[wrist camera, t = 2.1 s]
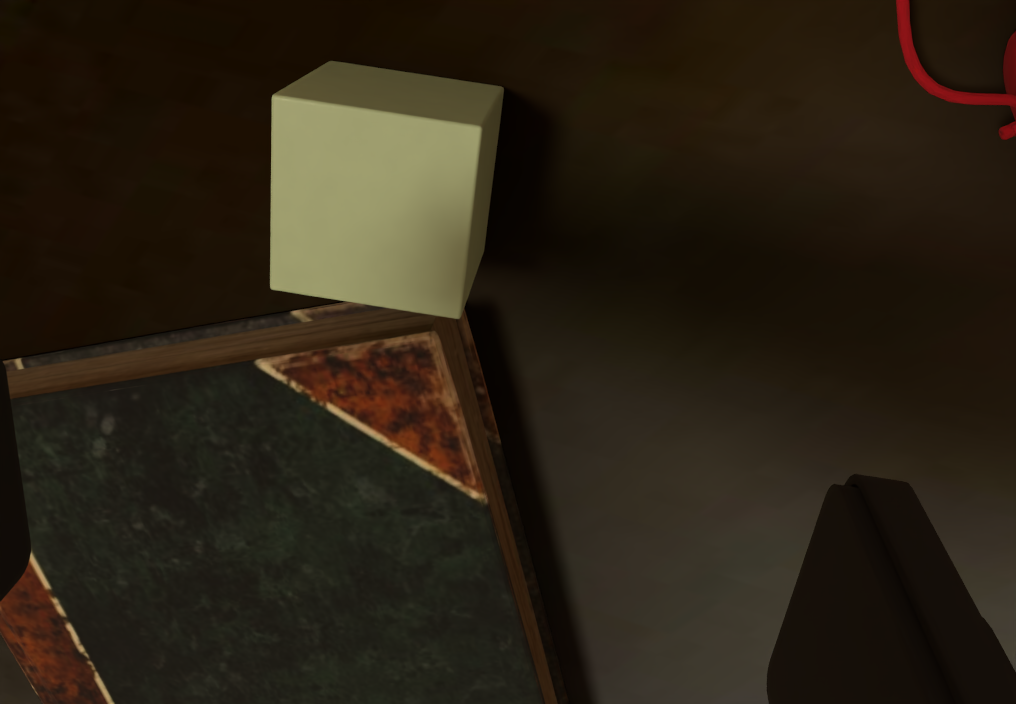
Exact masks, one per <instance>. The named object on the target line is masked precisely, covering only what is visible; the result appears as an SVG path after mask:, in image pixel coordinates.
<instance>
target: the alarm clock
mask: <svg viewBox="0 0 1016 704" xmlns="http://www.w3.org/2000/svg"><path fill="white" fill-rule="evenodd" d="M896 5H897V18H898V31H899V39H900V43H901V47H902V51H903V55H904V59H905V62H906V64H907V66H908V68H909V70H910V71H911V73H912V75H913V77H914V79H915V80H916V81H917V82H918V83H919V84H920V85H921V86H922V87H923V88H924V89H925V90H926V91H927V92H928V93H930V94H932V95H934V96H937V97H939V98H942V99H944V100H946V101H949V102H954V103H962V104H970V105H1009V106H1010V108H1011V110H1012V113H1013V115H1014V118H1015V122H1012V123H1010V124H1009V125H1007V126H1004V127H1001V128H1000V129H999V136H1000V137H1001V139H1003V140H1007V139H1009V138H1011V137H1013V136H1016V31H1015V32H1014V33H1013V35H1012V36H1011V37H1010V39H1009V40H1008V43H1007V47H1006V50H1005V54H1004V61H1003V76H1004V84H1005V89H1006V93H1007V94H987V93H968V92H961V91H954V90H951V89H949V88H946V87H944V86H941V85H939V84H938V83H936V82H935V81H934V80H933V79H932V78H931V77H930V76H928V74H927V73H926V72H925V70H924V69H923V67H922V66H921V64H920V61H919V59H918V56H917V54H916V51H915V48H914V46H913V40H912V33H911V26H910V10H909V0H896Z"/></svg>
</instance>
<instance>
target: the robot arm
mask: <svg viewBox="0 0 1016 704" xmlns="http://www.w3.org/2000/svg"><path fill="white" fill-rule="evenodd" d="M30 555H31V540H30V533H29V526H28V519H27V512H26V505H25V498H24V491H23V484H22V477H21V470H20V463H19V456H18V449H17V442H16V435H15V428H14V421H13V414H12V407H11V400H10V393H9V386H8V379H7V372H6V368H5V364H4V363H3V361H2V360H1V359H0V602H1V601H2V599H3V598H4V597H5V596H6V595H7V594H8V592H9V591H10V590H11V589H12V588H13V587H14V585H15V584H16V583H17V582H18V581H19V580H20V578H21V577H22V576H23V574H24V572H25V570H26V568H27V566H28V563H29V560H30ZM767 695H768V701H769V704H1016V672H1015V670H1014V668H1013V667H1012V665H1011V663H1010V661H1009V659H1008V657H1007V656H1006V654H1005V652H1004V650H1003V648H1002V646H1001V645H1000V643H999V641H998V639H997V637H996V635H995V634H994V632H993V630H992V628H991V627H990V626H989V624H988V623H987V622H986V620H985V619H984V618H983V617H982V616H981V615H980V613H979V611H978V609H977V607H976V605H975V603H974V602H973V600H972V598H971V596H970V594H969V592H968V590H967V589H966V587H965V585H964V583H963V581H962V579H961V577H960V576H959V574H958V572H957V570H956V568H955V566H954V564H953V563H952V561H951V559H950V557H949V555H948V553H947V551H946V550H945V548H944V546H943V544H942V542H941V540H940V538H939V537H938V535H937V533H936V531H935V529H934V527H933V525H932V524H931V522H930V520H929V518H928V516H927V514H926V512H925V511H924V509H923V507H922V505H921V503H920V501H919V499H918V498H917V496H916V494H915V492H914V490H913V488H912V487H911V486H910V485H909V483H907V482H904V481H897V480H891V479H884V478H878V477H871V476H864V475H858V474H854V475H852V476H850V477H849V479H848V480H847V481H846V483H845V485H837V484H834V485H832V486H831V487H830V488H829V489H828V491H827V494H826V496H825V499H824V502H823V505H822V508H821V511H820V514H819V517H818V520H817V523H816V526H815V529H814V532H813V535H812V538H811V541H810V543H809V546H808V549H807V552H806V555H805V558H804V561H803V564H802V567H801V570H800V573H799V576H798V579H797V582H796V585H795V588H794V591H793V594H792V597H791V600H790V603H789V606H788V609H787V612H786V615H785V618H784V621H783V624H782V627H781V630H780V633H779V636H778V639H777V641H776V644H775V647H774V650H773V653H772V656H771V659H770V663H769V667H768V673H767Z"/></svg>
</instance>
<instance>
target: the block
mask: <svg viewBox="0 0 1016 704" xmlns="http://www.w3.org/2000/svg"><path fill="white" fill-rule="evenodd" d="M503 94H504V88H503V87H501V86H495V85H488V84H481V83H475V82H468V81H462V80H455V79H448V78H442V77H435V76H429V75H422V74H415V73H409V72H402V71H396V70H389V69H382V68H376V67H369V66H363V65H356V64H349V63H343V62H336V61H329V62H328V63H326V64H324V65H322V66H321V67H319V68H317V69H316V70H314V71H312V72H311V73H309V74H307V75H306V76H304V77H302V78H300V79H299V80H297V81H295V82H294V83H292V84H290V85H289V86H287V87H285V88H284V89H282V90H280V91H279V92H277V93H275V94H273V96H272V133H271V243H270V288H271V289H272V290H278V291H284V292H291V293H297V294H303V295H309V296H316V297H322V298H328V299H334V300H341V301H347V302H353V303H360V304H366V305H372V306H378V307H385V308H391V309H397V310H403V311H410V312H416V313H422V314H429V315H435V316H441V317H447V318H454V319H460V317H461V315H462V313H463V310H464V307H465V304H466V301H467V298H468V295H469V293H470V290H471V287H472V284H473V281H474V278H475V276H476V273H477V270H478V267H479V264H480V261H481V258H482V256H483V253H484V248H485V239H486V231H487V223H488V215H489V207H490V199H491V191H492V183H493V175H494V167H495V159H496V151H497V143H498V135H499V127H500V119H501V110H502V102H503Z"/></svg>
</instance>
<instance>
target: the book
mask: <svg viewBox="0 0 1016 704" xmlns="http://www.w3.org/2000/svg"><path fill="white" fill-rule="evenodd" d="M3 363H4V364H5V368H6V372H7V379H8V386H9V393H10V400H11V407H12V414H13V421H14V428H15V435H16V442H17V449H18V456H19V463H20V470H21V477H22V484H23V491H24V498H25V505H26V512H27V519H28V526H29V533H30V540H31V555H30V560H29V563H28V566H27V568H26V570H25V572H24V574H23V576H22V577H21V578H20V580H19V581H18V582H17V583H16V584H15V585H14V587H13V588H12V589H11V590H10V591H9V592H8V594H7V595H6V596H5V597H4V598H3V599H2V601H1V602H0V634H1V636H2V637H3V639H4V641H5V642H6V644H7V646H8V647H9V649H10V651H11V652H12V654H13V656H14V657H15V659H16V661H17V662H18V664H19V666H20V667H21V669H22V671H23V672H24V674H25V676H26V677H27V679H28V681H29V682H30V684H31V686H32V687H33V689H34V691H35V692H36V694H37V696H38V697H39V699H40V701H41V702H42V704H570V703H569V699H568V695H567V691H566V687H565V683H564V680H563V676H562V672H561V668H560V664H559V660H558V657H557V653H556V649H555V645H554V641H553V637H552V633H551V630H550V626H549V622H548V618H547V614H546V611H545V607H544V603H543V599H542V595H541V592H540V588H539V584H538V580H537V577H536V573H535V569H534V565H533V561H532V558H531V554H530V550H529V546H528V542H527V539H526V535H525V531H524V527H523V524H522V520H521V516H520V512H519V508H518V505H517V501H516V497H515V493H514V489H513V486H512V482H511V478H510V474H509V471H508V467H507V463H506V459H505V455H504V452H503V448H502V444H501V440H500V437H499V433H498V429H497V425H496V421H495V418H494V414H493V410H492V406H491V402H490V399H489V395H488V391H487V387H486V384H485V380H484V376H483V372H482V368H481V365H480V361H479V357H478V354H477V350H476V347H475V344H474V340H473V337H472V333H471V330H470V326H469V323H468V319H467V316H466V313H465V309H464V310H463V313H462V315H461V317H460V319H454V318H447V317H441V316H435V315H429V314H422V313H416V312H410V311H403V310H397V309H391V308H385V307H378V306H372V305H366V304H360V303H353V302H343V303H337V304H331V305H325V306H319V307H313V308H307V309H301V310H295V311H289V312H283V313H277V314H271V315H265V316H260V317H254V318H248V319H242V320H236V321H230V322H224V323H218V324H212V325H206V326H200V327H194V328H189V329H183V330H177V331H172V332H166V333H160V334H154V335H149V336H143V337H137V338H132V339H126V340H120V341H114V342H109V343H103V344H97V345H92V346H86V347H80V348H74V349H69V350H63V351H57V352H51V353H46V354H40V355H34V356H29V357H23V358H17V359H11V360H6V361H3Z"/></svg>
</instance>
